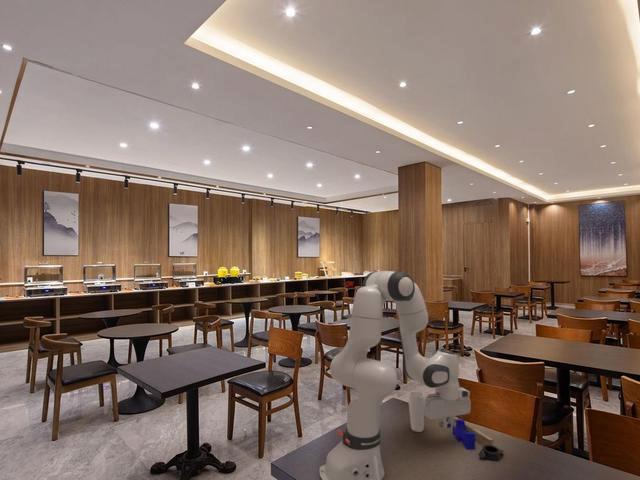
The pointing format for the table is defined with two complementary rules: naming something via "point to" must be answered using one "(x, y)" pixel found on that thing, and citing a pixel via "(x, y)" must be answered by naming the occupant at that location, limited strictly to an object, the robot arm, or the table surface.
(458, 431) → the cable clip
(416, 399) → the drinking glass
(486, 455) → the black winged round fixture
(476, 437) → the bar
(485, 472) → the table surface
